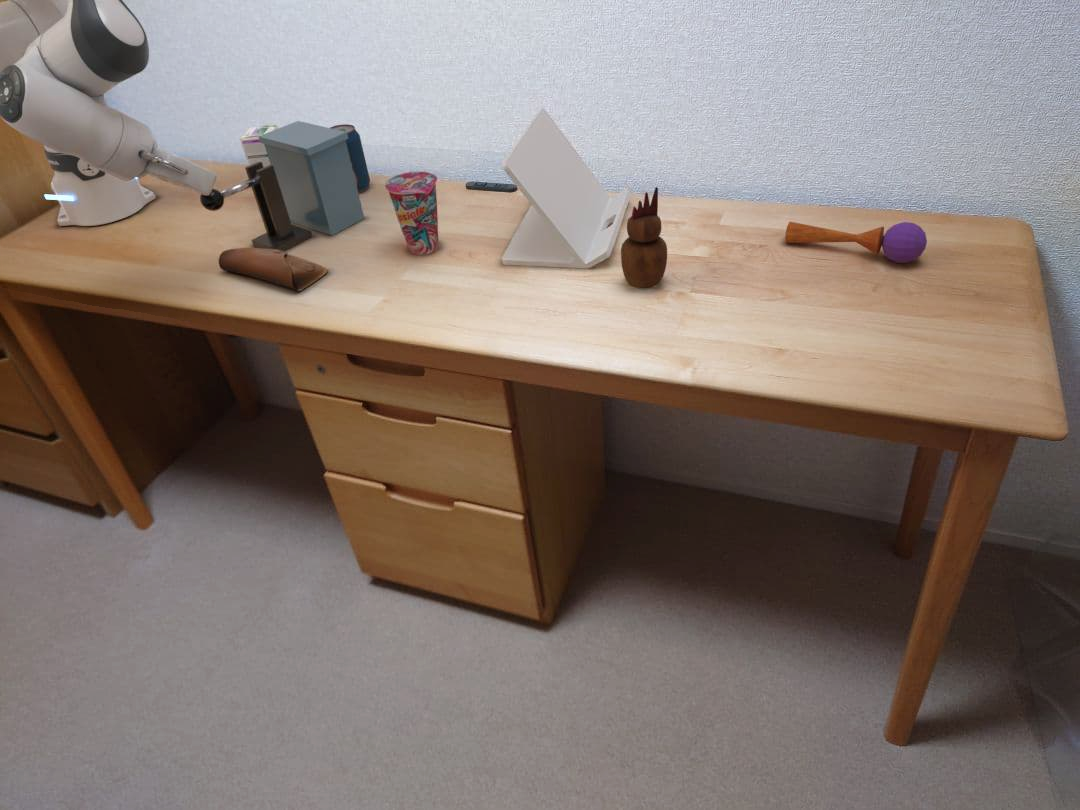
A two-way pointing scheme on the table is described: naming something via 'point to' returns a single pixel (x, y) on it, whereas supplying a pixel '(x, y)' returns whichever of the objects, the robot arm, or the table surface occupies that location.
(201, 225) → the table surface
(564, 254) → the tablet stand
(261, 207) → the bracket
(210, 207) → the flush lever
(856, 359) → the table surface
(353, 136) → the soda can
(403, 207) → the cup
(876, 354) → the table surface
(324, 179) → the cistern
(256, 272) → the sunglasses case
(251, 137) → the syrup box
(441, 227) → the table surface
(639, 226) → the wooden figurine
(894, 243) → the kendama
